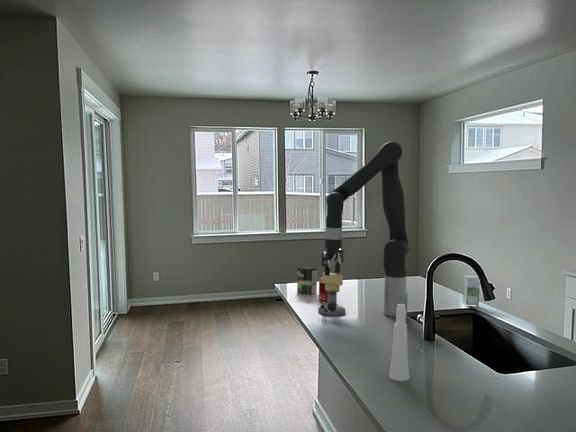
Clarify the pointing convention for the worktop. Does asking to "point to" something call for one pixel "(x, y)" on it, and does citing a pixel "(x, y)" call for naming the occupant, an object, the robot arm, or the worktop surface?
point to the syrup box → (471, 290)
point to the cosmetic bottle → (399, 347)
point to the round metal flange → (331, 306)
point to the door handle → (332, 282)
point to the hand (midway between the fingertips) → (332, 274)
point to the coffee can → (307, 280)
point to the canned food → (322, 293)
